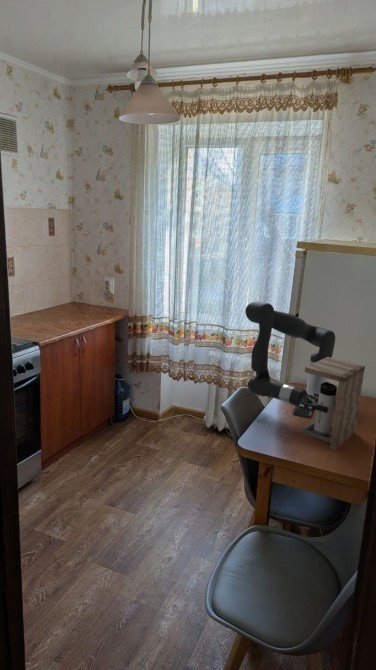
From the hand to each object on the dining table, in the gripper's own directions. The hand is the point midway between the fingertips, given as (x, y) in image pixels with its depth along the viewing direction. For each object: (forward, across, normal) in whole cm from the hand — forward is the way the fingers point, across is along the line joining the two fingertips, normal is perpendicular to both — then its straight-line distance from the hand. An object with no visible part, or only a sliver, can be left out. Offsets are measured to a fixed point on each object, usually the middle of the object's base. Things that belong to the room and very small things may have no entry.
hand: (331, 407), depth 180 cm
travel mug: (-2, 0, +11) cm, 11 cm away
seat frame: (-2, 0, +12) cm, 12 cm away
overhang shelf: (0, 0, +12) cm, 12 cm away
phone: (-18, +16, +12) cm, 27 cm away
